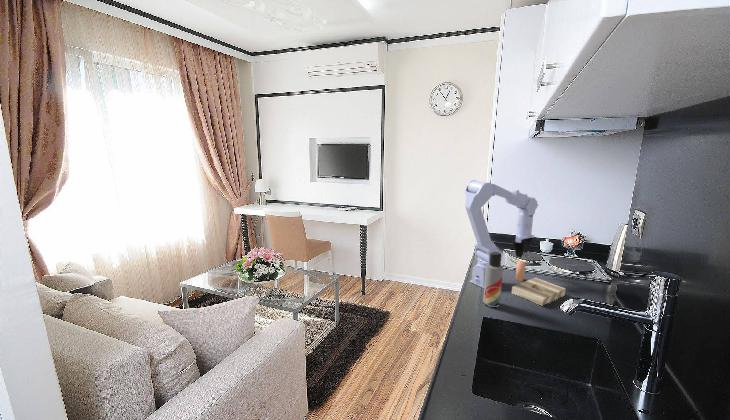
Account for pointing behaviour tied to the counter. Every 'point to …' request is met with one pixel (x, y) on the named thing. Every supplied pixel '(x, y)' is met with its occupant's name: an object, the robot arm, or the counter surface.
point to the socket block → (538, 291)
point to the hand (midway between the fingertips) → (521, 254)
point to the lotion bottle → (493, 280)
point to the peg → (520, 271)
